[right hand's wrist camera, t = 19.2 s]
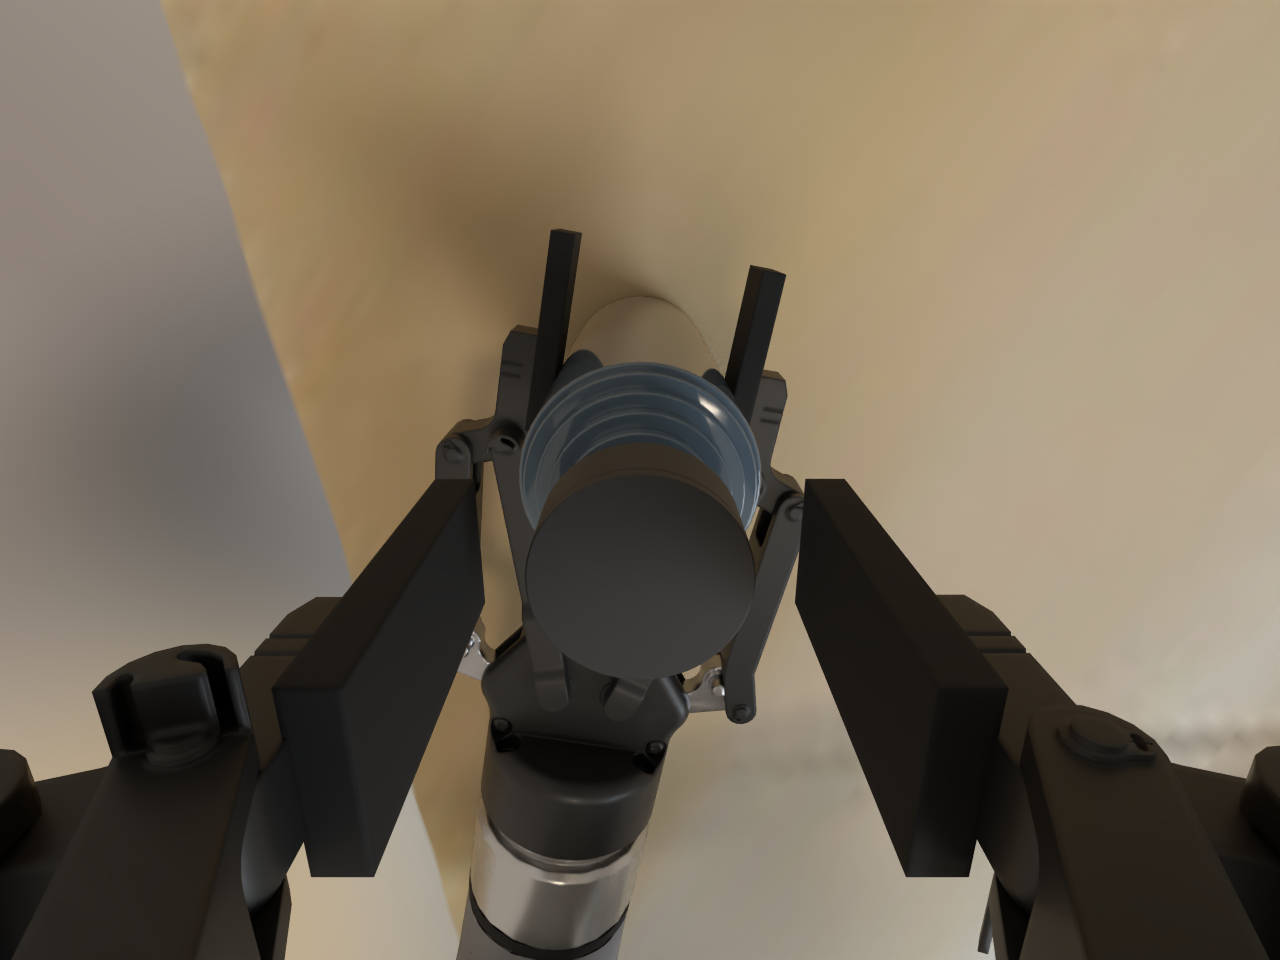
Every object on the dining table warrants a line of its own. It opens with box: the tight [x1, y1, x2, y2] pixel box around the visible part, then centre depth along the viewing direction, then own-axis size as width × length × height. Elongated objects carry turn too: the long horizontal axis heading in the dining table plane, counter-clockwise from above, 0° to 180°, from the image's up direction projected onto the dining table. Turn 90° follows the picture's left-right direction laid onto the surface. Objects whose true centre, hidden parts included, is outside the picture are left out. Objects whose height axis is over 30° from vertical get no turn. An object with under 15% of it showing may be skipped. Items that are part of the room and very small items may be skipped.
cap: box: [525, 443, 756, 680], centre depth 13 cm, size 4×4×2 cm
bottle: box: [519, 296, 761, 532], centre depth 22 cm, size 6×6×20 cm
